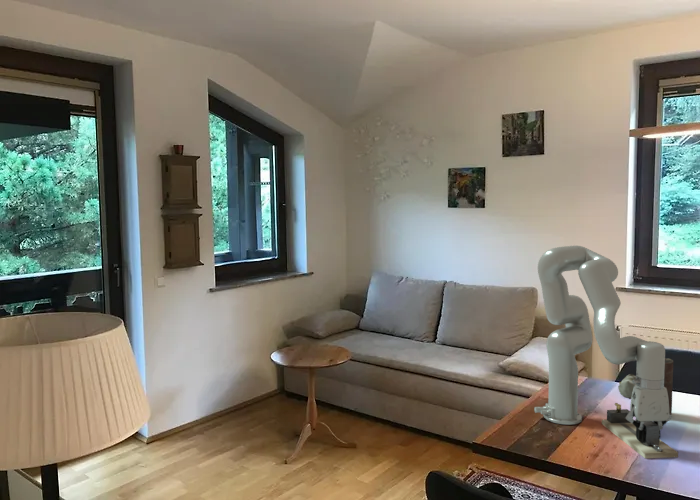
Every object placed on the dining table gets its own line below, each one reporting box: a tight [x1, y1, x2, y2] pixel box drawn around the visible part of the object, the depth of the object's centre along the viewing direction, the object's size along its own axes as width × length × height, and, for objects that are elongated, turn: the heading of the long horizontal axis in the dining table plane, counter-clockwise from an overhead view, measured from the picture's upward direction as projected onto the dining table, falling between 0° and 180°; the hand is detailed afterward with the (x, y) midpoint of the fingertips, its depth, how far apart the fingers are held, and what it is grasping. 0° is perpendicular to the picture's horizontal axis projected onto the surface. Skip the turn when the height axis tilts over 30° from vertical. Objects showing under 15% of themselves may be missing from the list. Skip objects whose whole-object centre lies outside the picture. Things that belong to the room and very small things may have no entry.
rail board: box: [601, 418, 679, 459], centre depth 182 cm, size 26×10×2 cm, turn 3°
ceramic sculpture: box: [617, 372, 636, 399], centre depth 222 cm, size 11×9×15 cm
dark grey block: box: [643, 422, 663, 452], centre depth 173 cm, size 9×4×6 cm, turn 3°
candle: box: [664, 357, 674, 416], centre depth 201 cm, size 8×7×20 cm
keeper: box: [606, 402, 631, 423], centre depth 193 cm, size 4×7×6 cm, turn 93°
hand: (647, 440), depth 176 cm, fingers closed on dark grey block, 4 cm apart
